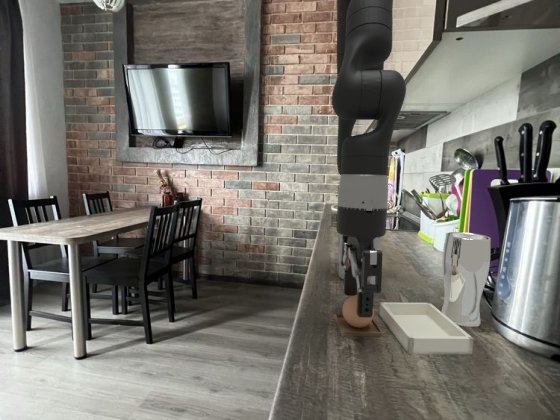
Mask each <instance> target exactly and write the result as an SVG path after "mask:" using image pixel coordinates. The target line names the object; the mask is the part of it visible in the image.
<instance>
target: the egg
mask: <svg viewBox="0 0 560 420" xmlns="http://www.w3.org/2000/svg"><path fill="white" fill-rule="evenodd" d="M341 310H342V314H343V316H344V319H345V320H346V321H347V323H349V324H350V325H351V326H353V327H357V328H362V327H365V326H367V325H368V324H370V323H371V321H372V319H373V318H375V310H374V308H373V315H372V317H370V318H366V317H359V316H358V315H357V313H356V311H357V294H356V295H355V296H349V297H348V298H346V299H345V301H344V302H343V304H342V309H341Z"/></svg>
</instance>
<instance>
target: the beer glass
mask: <svg viewBox="0 0 560 420" xmlns="http://www.w3.org/2000/svg"><path fill="white" fill-rule="evenodd" d="M491 239H492V238H491V237H490V236H487V235H484V234H479V233H473V232H464V231H463V232H462V231H451V232H446V233H445V239H444V244H443V251H442V263H441V267H442V279H443V285H444V286H443V287H444V297H443V298H444V299H443V304H442V307H441V310H440V311H441V312H442V313H443V314H444V315H446V316H447V317H448V318H449V319H450V320H452V321H453V322H454V323H455V324H457V325H458V326H462V327H468V328H472V327H478V328H479V326H481V323H482V321H481V314H480V303H481V298H482V295H483V292H484V289H485V285H486V282H487V279H488V276H489V270H490V266H491V265H490V264H491V241H492V240H491Z"/></svg>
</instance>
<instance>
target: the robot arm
mask: <svg viewBox="0 0 560 420" xmlns="http://www.w3.org/2000/svg"><path fill="white" fill-rule="evenodd" d="M393 4H394V0H336V81H335V83H334V87H333V90H332V95H331V106H332V110H333V112H334V113H335V115H336V116H337V117H338V120H337V121H338V122H337V123H338V124H337V143H336V144H337V145H336V146H337V147H336V148H337V149H336V167H337V168H336V169H337V171H338V174H339V176H340V177H339V183H338V190H337V206H336V207H337V208H336V232H337V233H338V234H339V251H338V252H339V253H338V255H339V257H338V274H337V275H338V277H339V278H340V279H342V280H343V293H344V295H345V296H349V297H351V296H355V295H357V311H356V313H357V315H358V316H359V317H366V318H370V317H372V315H373V309H374V299H375V297H374V296H375V295H374V294H381V293H382V274H383V256H384V255H383V254H384V253H383V250H380V239H381V238H383V237H384V236H385V235H386V234H387V220H388V202H389V201H388V200H389V184H388V172H389V158H390V147H391V141H392V137H393V135H394V129H395V127H396V123H397V121H398V117H399V115H400V112H401V110H402V107H403V106H404V105H403V104H404V101H405V98H406V93H407V84H406V81H405V78H404V77H403V75H402V74H401V73H400V72H399V71H397V70H394V69H393V70H392V69H385V68H384V67H385V66H384V65H385V62H386V61H387V60H388V59H389V57H390V56H391V54H392V49H393V31H394V29H393V20H394V19H393V10H394V9H393V8H394V7H393ZM358 120H359V121H361V120H362V121H367V120H368V121H371V120H374V121H376V126H375V128H374V129H372V130H371V131H368V132H365V133H364V132H363V133H360V134H355V135H353V130H354V127H355V124H356V123H357V121H358Z"/></svg>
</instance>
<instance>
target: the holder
mask: <svg viewBox="0 0 560 420" xmlns="http://www.w3.org/2000/svg"><path fill="white" fill-rule="evenodd" d="M332 315H333V316H332V317H333V320H334V322H335V324H336V326H337V328H338V331H339V334H340V336H341V337H342V338H344V337H345V338H346V337H350V338H351V337H353V338H354V337H360V338H361V337H366V338H376V337H379V338H382V337H385V335H386V333H385V332H384V331H383V329H382V327H381V326H380V324H378V322H377V321H376V319H375V317H373V319H372V321H371V323H370V324H368V325H367V326H365V327H362V328H357V327H353V326H351V325H350V324H349V323H347V321H346V320H345V319H344V316H343V313H333V314H332Z"/></svg>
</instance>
